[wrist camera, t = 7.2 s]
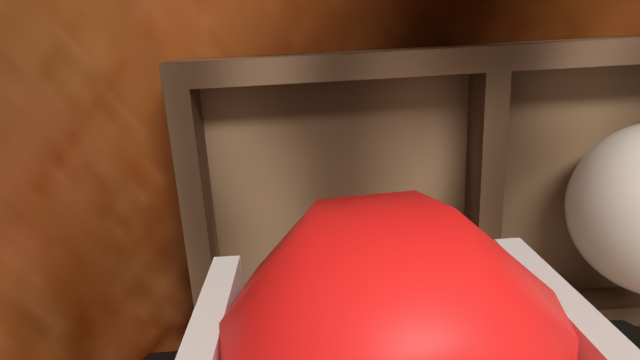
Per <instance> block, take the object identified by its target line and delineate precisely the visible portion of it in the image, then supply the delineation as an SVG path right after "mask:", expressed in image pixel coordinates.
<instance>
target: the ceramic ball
mask: <svg viewBox="0 0 640 360" xmlns="http://www.w3.org/2000/svg"><path fill="white" fill-rule="evenodd" d="M564 209H565V219H566V224H567V228H568V231H569V233H570V236H571V238H572V240H573V243H574V244H575V246H576V248H577V249H578V251H579V252H580V254H581V255H582V256H583V258H584V259H585V260H586V261H587V262H588V263H589V264H590V265H591V266H592V267H593V268H594V269H595V270H596V271H597V272H599V273H600V274H601V275H602V276H604V277H605V278H607V279H608V280H610V281H612V282H613V283H615V284H617V285H619V286H621V287H623V288H625V289H628V290H630V291H633V292H635V293H638V294H640V123H639V124H635V125H631V126H629V127H626V128H623V129H621V130H619V131H617V132H615V133H613V134H611V135H609V136H607V137H606V138H604V139H603V140H601V141H600V142H598V143H597V144H596V145H595V146H593V147H592V148H591V149H590V150H589V151H588V152H587V153H586V154H585V155H584V156H583V158H582V159H581V160H580V162H579V163H578V164H577V166H576V168H575V170H574V171H573V173H572V175H571V178H570V180H569V182H568V186H567V189H566V194H565V204H564Z"/></svg>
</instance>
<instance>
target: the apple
mask: <svg viewBox="0 0 640 360" xmlns="http://www.w3.org/2000/svg"><path fill="white" fill-rule="evenodd" d="M219 330H220V351H221V360H577V357H578V345H579V338H578V336H577V334H576V333H575V331H574V329H573V327H572V325H571V323H570V321H569V319H568V317H567V315H566V313H565V311H564V309H563V307H562V305H561V304H560V302H559V300H558V298H557V296H556V294H555V292H554V291H553V290H552V289H551V288H550V287H548V286H547V285H546V284H545V283H544V282H542V281H541V280H540V279H539V278H538V277H537V276H535V275H534V274H533V273H532V272H531V271H529V270H528V269H527V268H526V267H525V266H524V265H522V264H521V263H520V262H519V261H518V260H516V259H515V258H514V257H513V256H512V255H511V254H509V253H508V252H507V251H506V250H505V249H503V248H502V247H501V246H500V245H499V244H497V243H496V242H495V241H494V240H493V239H492V238H490V237H489V236H488V235H487V234H486V233H484V232H483V231H482V230H481V229H480V228H479V227H477V226H476V225H475V224H474V223H473V222H471V221H470V220H469V219H468V218H467V217H466V216H464V215H463V214H462V213H461V212H460V211H458V210H457V209H456V208H454V207H452V206H449V205H447V204H445V203H443V202H440V201H438V200H436V199H434V198H432V197H429V196H427V195H425V194H423V193H421V192H418V191H416V190H412V191H401V192H390V193H379V194H369V195H358V196H347V197H336V198H325V199H317V200H316V201H315V202H314V204H313V205H312V206H311V207H310V208H309V209H308V210H307V212H306V213H305V214H304V215H303V216H302V217H301V218H300V220H299V221H298V222H297V223H296V224H295V225H294V226H293V228H292V229H291V230H290V231H289V232H288V233H287V234H286V235H285V237H284V238H283V239H282V240H281V241H280V242H279V243H278V245H277V246H276V247H275V248H274V249H273V250H272V251H271V253H270V254H269V255H268V256H267V257H266V258H265V259H264V260H263V262H262V263H261V264H260V265H259V266H258V267H257V268H256V270H255V271H254V273H253V274H252V276H251V277H250V279H249V280H248V282H247V283H246V285H245V286H244V288H243V289H242V290H241V292H240V293H239V295H238V296H237V298H236V299H235V301H234V302H233V304H232V305H231V306H230V308H229V309H228V311H227V312H226V314H225V315H224V317H223V318H222V320H221V321H220V323H219Z"/></svg>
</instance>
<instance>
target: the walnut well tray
mask: <svg viewBox="0 0 640 360" xmlns="http://www.w3.org/2000/svg"><path fill="white" fill-rule="evenodd" d="M159 68H160V75H161V82H162V89H163V96H164V103H165V110H166V117H167V124H168V131H169V138H170V145H171V152H172V159H173V166H174V172H175V179H176V186H177V193H178V200H179V207H180V214H181V221H182V228H183V235H184V242H185V249H186V256H187V263H188V270H189V277H190V284H191V291H192V298H193V305H194V308H195V306H196V303H197V300H198V298H199V295H200V292H201V290H202V287H203V285H204V282H205V279H206V277H207V274H208V271H209V269H210V266H211V264H212V261H213V258H214V257H222V256H238V255H240V259H241V268H242V278H243V287H244V286H245V285H246V283H247V282H248V280H249V279H250V277H251V276H252V274H253V273H254V271H255V270H256V268H257V267H258V266H259V265H260V264H261V263H262V262H263V260H264V259H265V258H266V257H267V256H268V255H269V254H270V253H271V251H272V250H273V249H274V248H275V247H276V246H277V245H278V243H279V242H280V241H281V240H282V239H283V238H284V237H285V235H286V234H287V233H288V232H289V231H290V230H291V229H292V228H293V226H294V225H295V224H296V223H297V222H298V221H299V220H300V218H301V217H302V216H303V215H304V214H305V213H306V212H307V210H308V209H309V208H310V207H311V206H312V205H313V204H314V202H315V201H316V200H317V199H325V198H336V197H347V196H358V195H369V194H379V193H390V192H401V191H412V190H416V191H418V192H421V193H423V194H425V195H427V196H429V197H432V198H434V199H436V200H438V201H440V202H443V203H445V204H447V205H449V206H452V207H454V208H456V209H457V210H458V211H460V212H461V213H462V214H463V215H464V216H466V217H467V218H468V219H469V220H470V221H471V222H473V223H474V224H475V225H476V226H477V227H479V228H480V229H481V230H482V231H483V232H484V233H486V234H487V235H488V236H489V237H490V238H492V239H493V240H494V239H506V238H521V239H522V240H523V241H524V242H525V243H526V244H527V245H528V246H529V247H530V248H531V249H533V250H534V251H535V252H536V253H537V254H538V255H539V256H540V257H541V258H542V259H543V260H544V261H545V262H546V263H548V264H549V265H550V266H551V267H552V268H553V269H554V270H555V271H556V272H557V273H558V274H559V275H560V276H561V277H563V278H564V279H565V280H566V281H567V282H568V283H569V284H570V285H571V286H572V287H573V288H574V289H575V290H576V291H578V292H579V293H580V294H581V295H582V296H583V297H584V298H585V299H586V300H587V301H588V302H589V303H590V304H591V305H593V306H594V307H595V308H596V309H597V310H598V311H599V312H600V313H601V314H602V315H603V316H604V317H605V318H606V319H608V320H624V321H626V322H628V323H630V324H632V325H634V326H640V294H638V293H635V292H633V291H630V290H628V289H625V288H623V287H621V286H619V285H617V284H615V283H613V282H612V281H610V280H608V279H607V278H605V277H604V276H602V275H601V274H600V273H599V272H597V271H596V270H595V269H594V268H593V267H592V266H591V265H590V264H589V263H588V262H587V261H586V260H585V259H584V258H583V256H582V255H581V254H580V252H579V251H578V249H577V248H576V246H575V244H574V243H573V240H572V238H571V236H570V233H569V231H568V228H567V224H566V219H565V209H564V204H565V194H566V189H567V186H568V182H569V180H570V178H571V175H572V173H573V171H574V170H575V168H576V166H577V164H578V163H579V162H580V160H581V159H582V158H583V156H584V155H585V154H586V153H587V152H588V151H589V150H590V149H591V148H592V147H593V146H595V145H596V144H597V143H598V142H600V141H601V140H603V139H604V138H606V137H607V136H609V135H611V134H613V133H615V132H617V131H619V130H621V129H623V128H626V127H629V126H631V125H635V124H639V123H640V35H634V36H616V37H597V38H579V39H560V40H542V41H523V42H505V43H486V44H468V45H449V46H431V47H412V48H394V49H375V50H357V51H338V52H320V53H301V54H283V55H264V56H246V57H227V58H209V59H190V60H174V61H170V62H165V63H161V64H159Z"/></svg>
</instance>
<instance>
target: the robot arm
mask: <svg viewBox="0 0 640 360" xmlns="http://www.w3.org/2000/svg"><path fill="white" fill-rule="evenodd" d="M494 241H495V242H496V243H497V244H499V245H500V246H501V247H502V248H503V249H505V250H506V251H507V252H508V253H509V254H511V255H512V256H513V257H514V258H515V259H516V260H518V261H519V262H520V263H521V264H522V265H524V266H525V267H526V268H527V269H528V270H529V271H531V272H532V273H533V274H534V275H535V276H537V277H538V278H539V279H540V280H541V281H542V282H544V283H545V284H546V285H547V286H548V287H550V288H551V289H552V290H553V291H554V292H555V294H556V296H557V298H558V300H559V302H560V304H561V305H562V307H563V309H564V311H565V313H566V315H567V317H568V319H569V321H570V323H571V325H572V327H573V329H574V331H575V333H576V334H577V336H578V338H579V345H578V357H577V360H640V328H638V327H636V326H634V325H632V324H630V323H628V322H626V321H624V320H608V319H606V318H605V317H604V316H603V315H602V314H601V313H600V312H599V311H598V310H597V309H596V308H595V307H594V306H593V305H591V304H590V303H589V302H588V301H587V300H586V299H585V298H584V297H583V296H582V295H581V294H580V293H579V292H578V291H576V290H575V289H574V288H573V287H572V286H571V285H570V284H569V283H568V282H567V281H566V280H565V279H564V278H563V277H561V276H560V275H559V274H558V273H557V272H556V271H555V270H554V269H553V268H552V267H551V266H550V265H549V264H548V263H546V262H545V261H544V260H543V259H542V258H541V257H540V256H539V255H538V254H537V253H536V252H535V251H534V250H533V249H531V248H530V247H529V246H528V245H527V244H526V243H525V242H524V241H523V240H522V239H521V238H506V239H494ZM243 288H244V287H243V278H242V268H241V259H240V255H238V256H222V257H214V258H213V261H212V264H211V266H210V269H209V271H208V274H207V277H206V279H205V282H204V285H203V287H202V290H201V292H200V295H199V298H198V300H197V303H196V306H195V308H194V311H193V313H192V316H191V319H190V321H189V324H188V327H187V329H186V332H185V334H184V337H183V340H182V342H181V345H180V347H179V350H178V351H173V352H159V353H149V354H148V355H147V356H146V357H145V358H144V359H143V360H221V351H220V330H219V323H220V321H221V320H222V318H223V317H224V315H225V314H226V312H227V311H228V309H229V308H230V306H231V305H232V304H233V302H234V301H235V299H236V298H237V296H238V295H239V293H240V292H241V290H242V289H243Z"/></svg>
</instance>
